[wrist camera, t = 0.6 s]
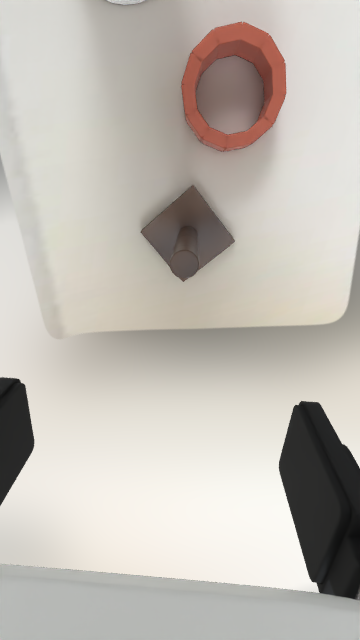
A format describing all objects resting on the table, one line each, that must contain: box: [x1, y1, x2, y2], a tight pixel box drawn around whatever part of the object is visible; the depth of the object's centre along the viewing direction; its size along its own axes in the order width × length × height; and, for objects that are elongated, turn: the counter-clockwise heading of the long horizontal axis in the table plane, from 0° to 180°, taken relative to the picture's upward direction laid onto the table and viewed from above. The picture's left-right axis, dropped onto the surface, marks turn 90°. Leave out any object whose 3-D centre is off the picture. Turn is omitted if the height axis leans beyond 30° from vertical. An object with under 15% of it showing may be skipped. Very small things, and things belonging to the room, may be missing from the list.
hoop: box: [181, 22, 286, 152], centre depth 31 cm, size 9×9×4 cm
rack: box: [141, 185, 235, 282], centre depth 33 cm, size 8×8×14 cm
